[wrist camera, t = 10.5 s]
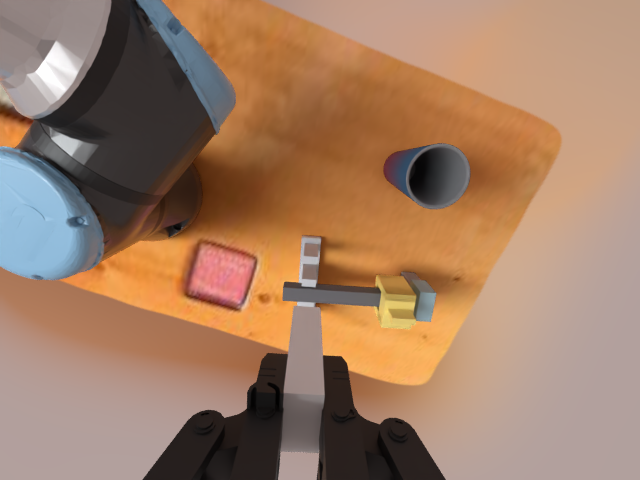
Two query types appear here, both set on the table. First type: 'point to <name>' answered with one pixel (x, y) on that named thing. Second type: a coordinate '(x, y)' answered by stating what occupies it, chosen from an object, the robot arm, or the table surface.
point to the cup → (429, 174)
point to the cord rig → (314, 293)
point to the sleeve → (395, 302)
